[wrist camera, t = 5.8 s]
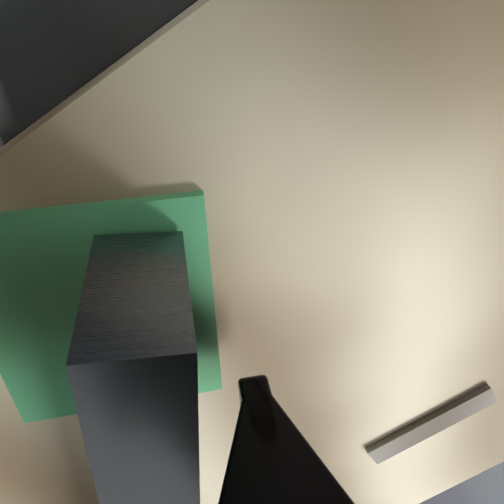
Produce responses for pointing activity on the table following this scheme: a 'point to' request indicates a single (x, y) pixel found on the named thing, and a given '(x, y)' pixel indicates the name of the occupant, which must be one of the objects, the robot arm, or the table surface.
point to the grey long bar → (137, 370)
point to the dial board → (280, 236)
